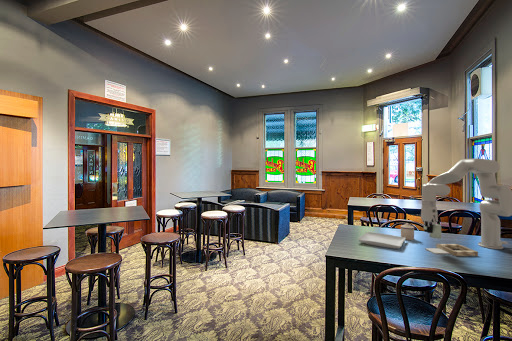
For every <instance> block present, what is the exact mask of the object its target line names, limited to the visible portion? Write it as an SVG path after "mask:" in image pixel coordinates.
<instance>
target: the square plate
mask: <svg viewBox="0 0 512 341" xmlns="http://www.w3.org/2000/svg"><path fill="white" fill-rule="evenodd" d="M405 239H406V238H405V237H401V236H398V235H393V234H386V233H379V232H373V231H372V232H371V231H367V232H366V231H365V233H364V234H362V235H361V236H359V237H358V238H357V240H358V241H359V243H362V244H366V245H370V246H376V247H381V248H388V249H400V248H401V247H402V245H403V244H404V242H405V241H406V240H405Z"/></svg>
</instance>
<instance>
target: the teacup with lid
mask: <svg viewBox="0 0 512 341" xmlns="http://www.w3.org/2000/svg"><path fill="white" fill-rule="evenodd" d="M400 237H405V238H406V239H405V241H414V240H415V227H414V226H413V225H411V224H410V223H408V222H406V223H405V224H402V225H400Z"/></svg>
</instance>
